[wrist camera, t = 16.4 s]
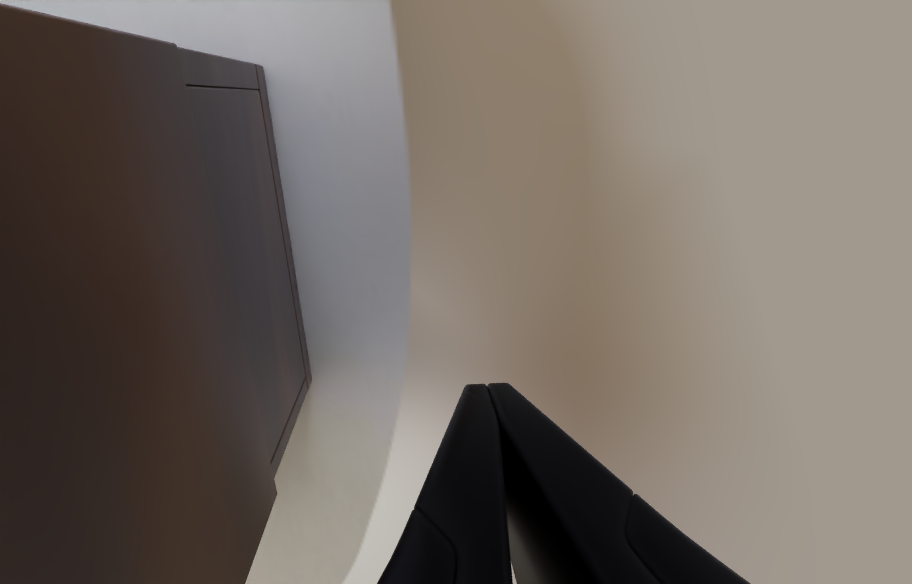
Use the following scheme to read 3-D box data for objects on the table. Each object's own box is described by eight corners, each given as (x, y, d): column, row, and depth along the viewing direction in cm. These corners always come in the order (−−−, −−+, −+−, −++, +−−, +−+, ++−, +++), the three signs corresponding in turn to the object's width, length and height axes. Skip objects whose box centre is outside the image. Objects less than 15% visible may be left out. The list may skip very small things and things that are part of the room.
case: (12, 393, 20) (-151, 510, 14) (-155, 60, 15) (-528, 35, 9) (312, 380, 21) (272, 485, 15) (263, 65, 16) (171, 45, 10)
